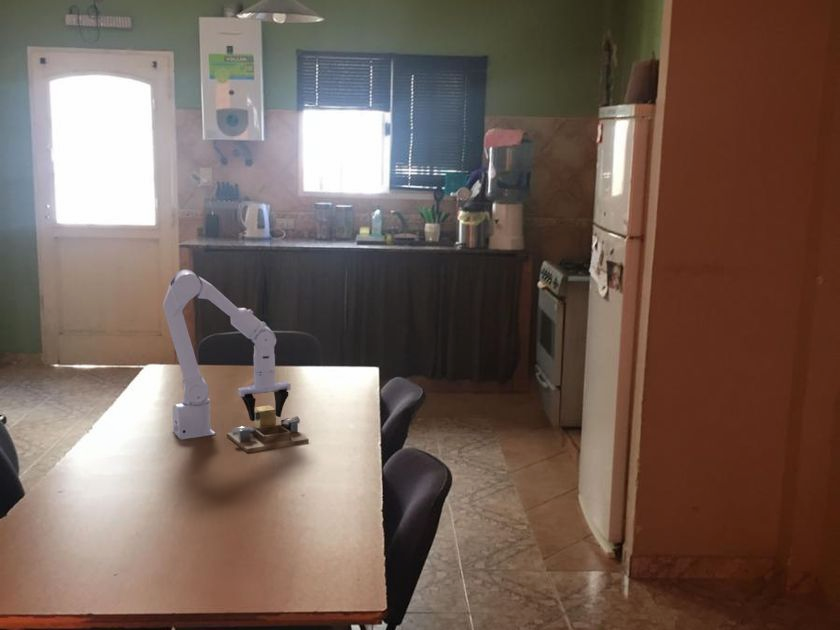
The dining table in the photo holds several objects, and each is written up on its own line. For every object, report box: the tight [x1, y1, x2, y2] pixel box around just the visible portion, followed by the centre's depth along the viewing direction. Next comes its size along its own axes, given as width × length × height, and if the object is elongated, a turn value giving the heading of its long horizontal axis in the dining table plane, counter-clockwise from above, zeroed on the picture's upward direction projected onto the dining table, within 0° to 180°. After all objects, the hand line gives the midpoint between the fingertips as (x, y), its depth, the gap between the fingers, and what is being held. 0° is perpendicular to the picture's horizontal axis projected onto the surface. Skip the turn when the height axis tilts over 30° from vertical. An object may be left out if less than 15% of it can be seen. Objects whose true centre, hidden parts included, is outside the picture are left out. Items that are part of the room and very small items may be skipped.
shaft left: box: [231, 425, 256, 443], centre depth 226 cm, size 6×4×4 cm, turn 110°
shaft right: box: [280, 416, 301, 434], centre depth 234 cm, size 5×4×4 cm
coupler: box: [253, 405, 277, 428], centre depth 241 cm, size 5×4×6 cm
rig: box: [226, 424, 309, 454], centre depth 230 cm, size 17×15×3 cm
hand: (265, 418), depth 241 cm, fingers open, 7 cm apart
